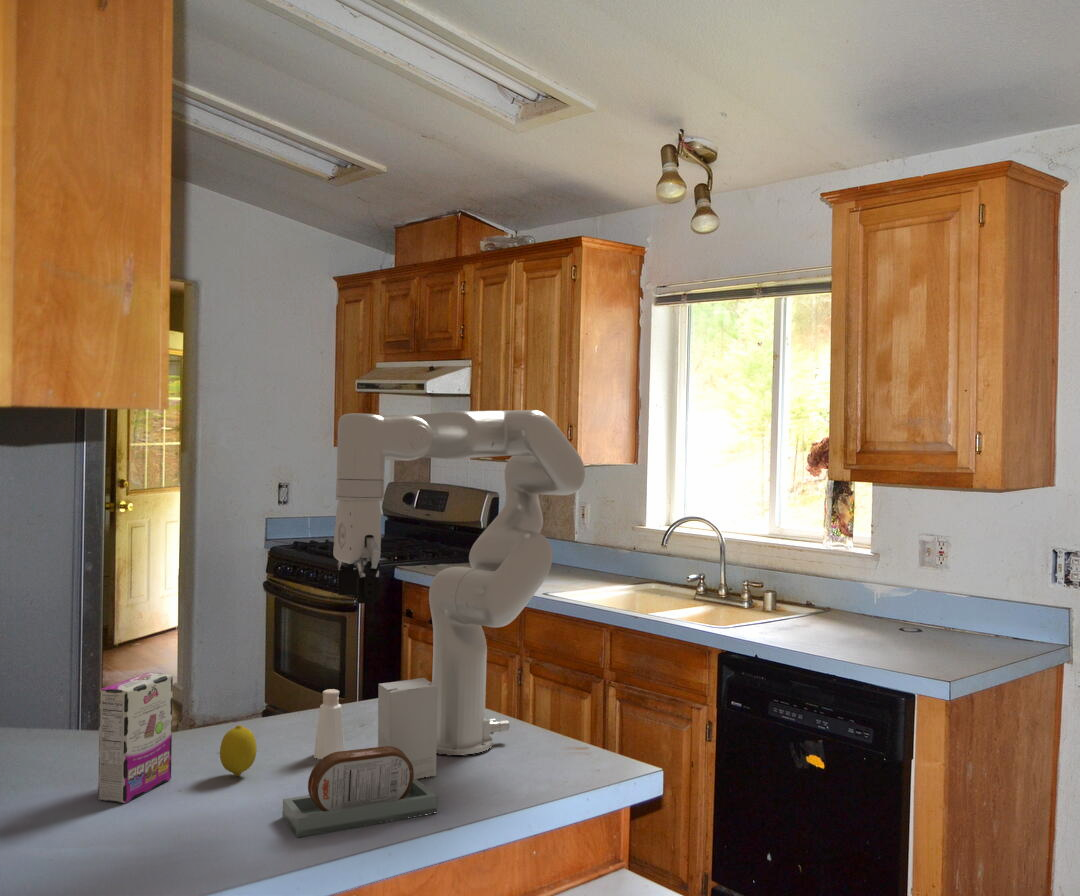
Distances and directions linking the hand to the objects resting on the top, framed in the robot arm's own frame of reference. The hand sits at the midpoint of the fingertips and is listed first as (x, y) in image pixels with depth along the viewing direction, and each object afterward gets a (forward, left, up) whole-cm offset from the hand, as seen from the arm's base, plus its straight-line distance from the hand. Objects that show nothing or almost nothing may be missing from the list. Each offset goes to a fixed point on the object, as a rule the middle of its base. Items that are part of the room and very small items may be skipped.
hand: (356, 598), depth 150 cm
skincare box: (-8, +3, -28) cm, 30 cm away
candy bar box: (+31, -8, -28) cm, 43 cm away
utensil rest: (+4, +16, -28) cm, 33 cm away
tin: (+4, +16, -28) cm, 32 cm away
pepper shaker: (0, -12, -28) cm, 31 cm away
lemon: (+16, -8, -28) cm, 34 cm away
